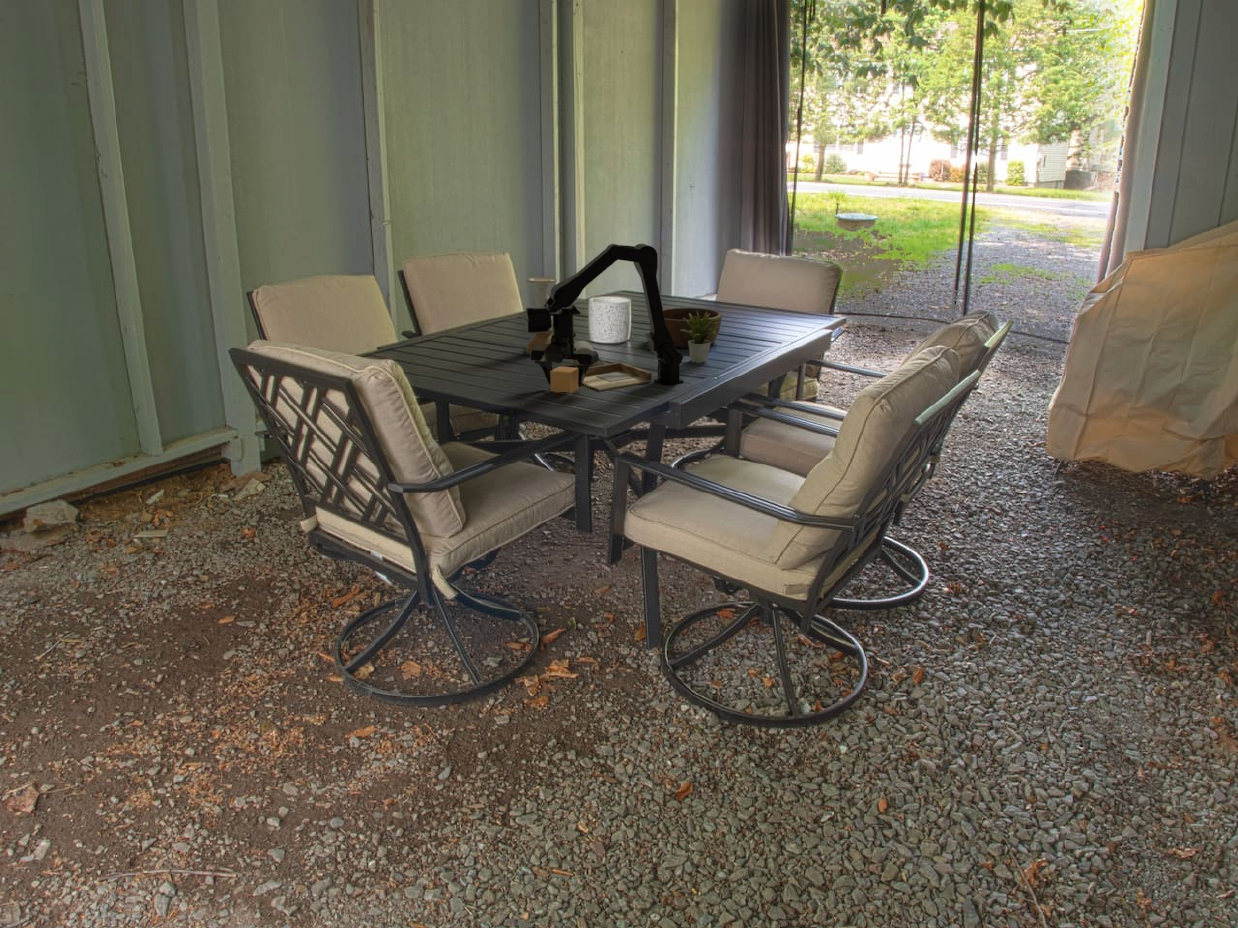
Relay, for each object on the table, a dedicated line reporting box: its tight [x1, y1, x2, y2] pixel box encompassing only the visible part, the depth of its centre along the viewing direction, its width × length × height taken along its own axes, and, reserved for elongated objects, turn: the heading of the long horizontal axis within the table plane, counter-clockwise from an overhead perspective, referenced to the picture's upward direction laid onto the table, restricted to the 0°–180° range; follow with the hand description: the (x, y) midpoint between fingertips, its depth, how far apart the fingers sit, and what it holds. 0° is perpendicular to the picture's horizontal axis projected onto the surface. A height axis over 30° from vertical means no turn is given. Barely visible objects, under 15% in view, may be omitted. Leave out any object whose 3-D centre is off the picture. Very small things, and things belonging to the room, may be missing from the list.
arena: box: [583, 361, 653, 392], centre depth 255 cm, size 16×18×3 cm
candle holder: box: [525, 276, 558, 355], centre depth 290 cm, size 11×11×24 cm
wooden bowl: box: [649, 307, 723, 349], centre depth 302 cm, size 25×25×10 cm
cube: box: [550, 366, 580, 394], centre depth 245 cm, size 6×6×6 cm
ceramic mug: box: [571, 340, 606, 368], centre depth 270 cm, size 11×8×8 cm
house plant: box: [680, 311, 723, 364], centre depth 274 cm, size 14×14×16 cm
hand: (565, 385), depth 246 cm, fingers open, 9 cm apart
